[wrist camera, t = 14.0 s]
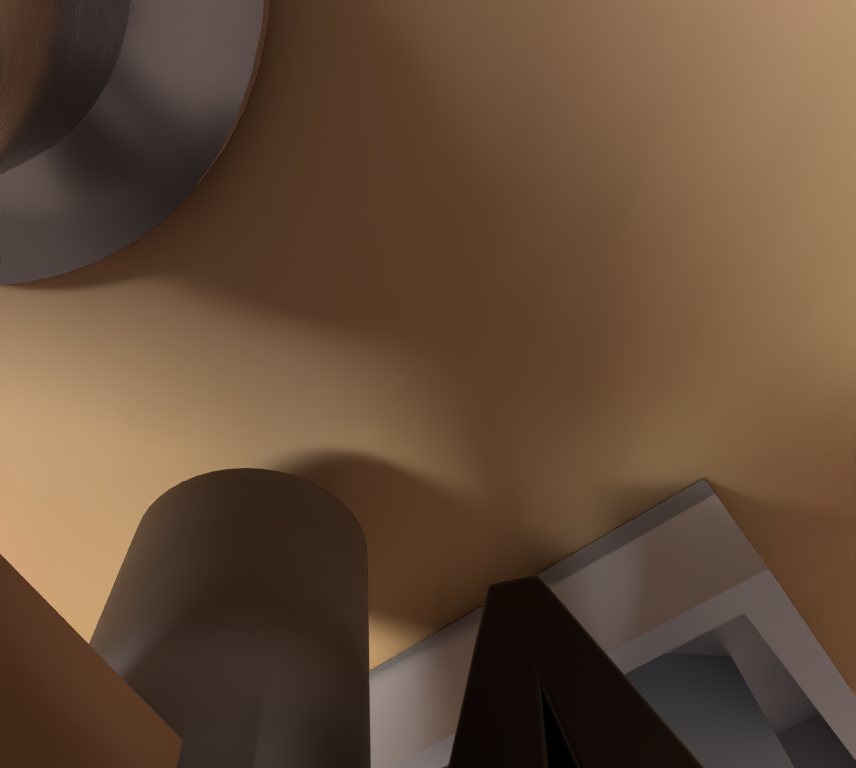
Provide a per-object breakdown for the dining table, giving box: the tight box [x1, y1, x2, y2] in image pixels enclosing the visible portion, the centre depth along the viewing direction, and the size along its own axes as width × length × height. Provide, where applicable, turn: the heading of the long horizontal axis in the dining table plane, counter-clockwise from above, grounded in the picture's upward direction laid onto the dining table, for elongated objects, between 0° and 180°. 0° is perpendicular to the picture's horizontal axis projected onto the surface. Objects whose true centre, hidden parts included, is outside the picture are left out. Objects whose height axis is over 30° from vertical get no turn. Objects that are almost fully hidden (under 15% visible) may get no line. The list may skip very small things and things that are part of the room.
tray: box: [369, 478, 856, 768], centre depth 16 cm, size 10×10×2 cm
